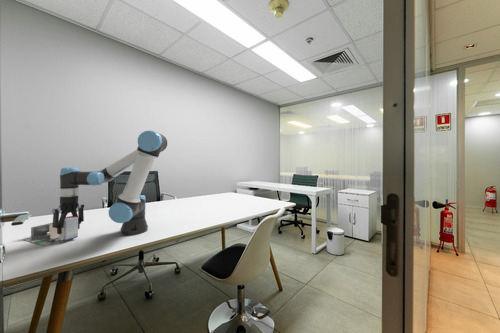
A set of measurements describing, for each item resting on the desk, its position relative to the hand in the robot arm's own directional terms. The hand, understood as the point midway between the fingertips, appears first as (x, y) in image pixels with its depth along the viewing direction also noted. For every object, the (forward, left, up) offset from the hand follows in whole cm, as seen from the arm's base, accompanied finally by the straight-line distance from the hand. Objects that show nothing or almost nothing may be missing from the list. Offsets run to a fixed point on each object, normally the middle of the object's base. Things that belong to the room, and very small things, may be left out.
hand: (68, 237), depth 108 cm
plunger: (+12, +3, -1) cm, 12 cm away
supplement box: (0, 0, -1) cm, 1 cm away
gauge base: (+12, +2, -2) cm, 12 cm away
